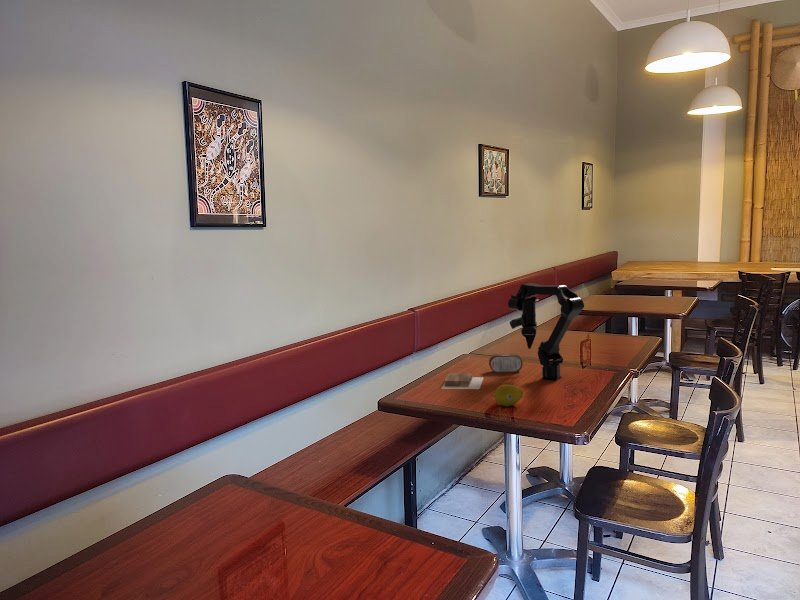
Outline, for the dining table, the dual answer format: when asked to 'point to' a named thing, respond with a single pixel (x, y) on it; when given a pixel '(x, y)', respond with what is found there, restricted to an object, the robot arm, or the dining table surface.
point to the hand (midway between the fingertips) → (529, 346)
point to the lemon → (508, 395)
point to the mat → (474, 384)
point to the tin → (505, 363)
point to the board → (458, 380)
